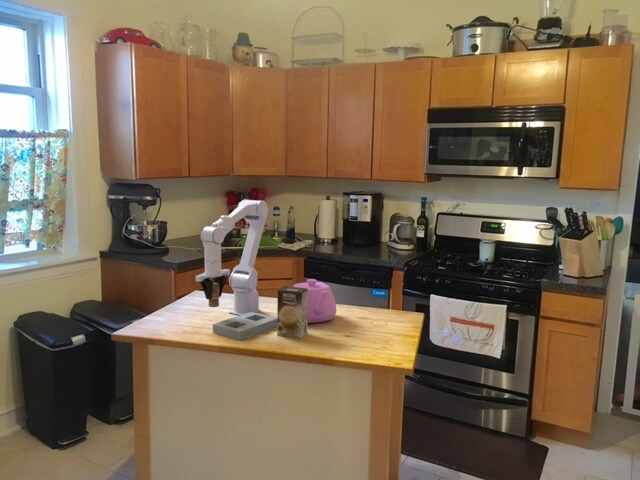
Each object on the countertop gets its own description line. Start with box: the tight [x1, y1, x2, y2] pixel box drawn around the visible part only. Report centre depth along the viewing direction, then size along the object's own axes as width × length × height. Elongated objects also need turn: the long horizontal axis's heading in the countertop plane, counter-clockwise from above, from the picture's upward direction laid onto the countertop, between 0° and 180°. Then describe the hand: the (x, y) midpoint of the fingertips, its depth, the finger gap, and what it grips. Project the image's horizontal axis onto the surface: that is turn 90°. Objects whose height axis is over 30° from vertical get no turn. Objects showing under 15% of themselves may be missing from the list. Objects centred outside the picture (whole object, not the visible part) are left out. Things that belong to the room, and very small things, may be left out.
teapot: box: [292, 278, 337, 325], centre depth 194 cm, size 23×21×15 cm
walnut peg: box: [208, 283, 221, 308], centre depth 189 cm, size 4×4×8 cm
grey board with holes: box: [212, 312, 277, 341], centre depth 186 cm, size 19×13×3 cm
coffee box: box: [276, 285, 308, 339], centre depth 180 cm, size 9×6×16 cm
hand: (213, 297), depth 189 cm, fingers closed on walnut peg, 4 cm apart
